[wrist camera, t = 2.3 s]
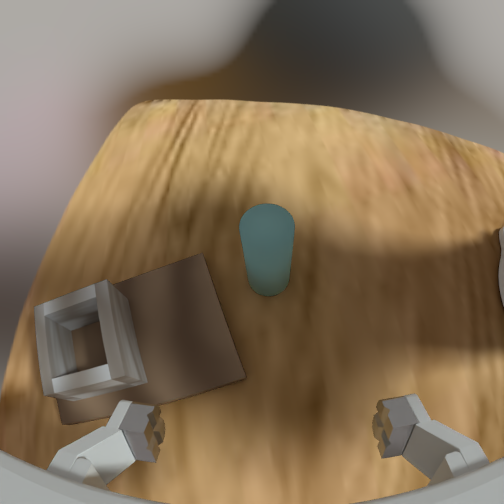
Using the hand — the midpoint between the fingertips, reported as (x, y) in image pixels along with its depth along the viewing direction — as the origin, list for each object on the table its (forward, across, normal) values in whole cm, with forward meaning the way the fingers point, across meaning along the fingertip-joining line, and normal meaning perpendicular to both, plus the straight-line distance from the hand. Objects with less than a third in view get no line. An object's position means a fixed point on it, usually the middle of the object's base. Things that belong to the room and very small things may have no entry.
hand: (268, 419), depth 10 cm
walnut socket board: (+15, +12, +6) cm, 20 cm away
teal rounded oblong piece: (+19, 0, +2) cm, 19 cm away
